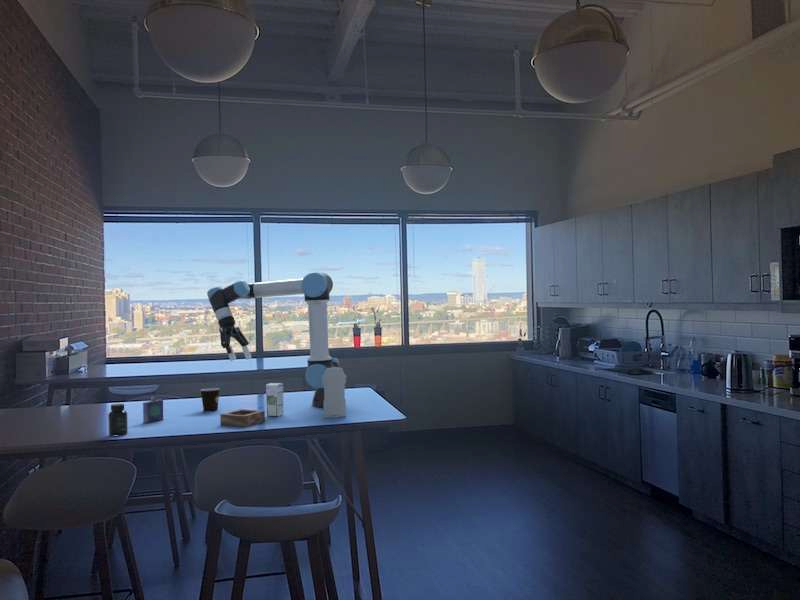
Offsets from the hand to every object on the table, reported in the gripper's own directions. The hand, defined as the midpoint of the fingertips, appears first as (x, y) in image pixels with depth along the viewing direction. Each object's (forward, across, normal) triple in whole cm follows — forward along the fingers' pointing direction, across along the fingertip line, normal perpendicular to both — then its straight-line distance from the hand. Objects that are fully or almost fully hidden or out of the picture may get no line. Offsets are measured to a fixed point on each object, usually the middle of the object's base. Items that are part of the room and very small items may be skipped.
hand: (241, 359), depth 294 cm
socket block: (+30, +22, +2) cm, 37 cm away
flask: (+12, +26, -36) cm, 47 cm away
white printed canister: (+31, +4, +7) cm, 32 cm away
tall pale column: (+43, +2, +33) cm, 54 cm away
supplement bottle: (+16, +52, -33) cm, 64 cm away
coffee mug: (+15, -3, -26) cm, 30 cm away
